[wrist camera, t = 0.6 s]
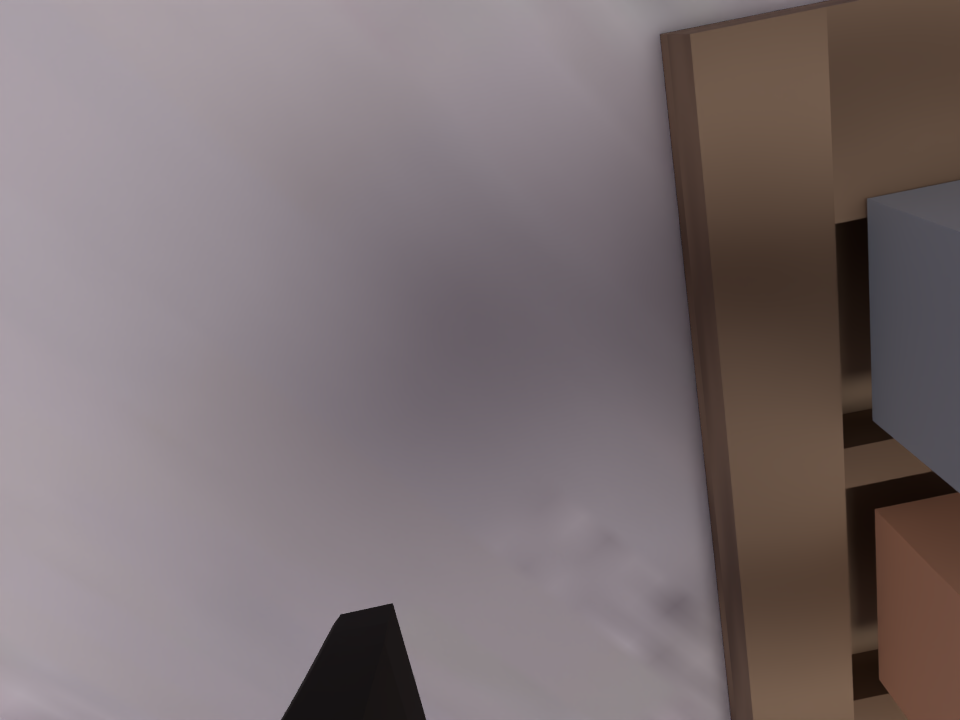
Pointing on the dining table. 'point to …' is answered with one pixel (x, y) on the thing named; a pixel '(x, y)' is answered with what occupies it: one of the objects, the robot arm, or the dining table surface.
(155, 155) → the dining table surface
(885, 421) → the button slate
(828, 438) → the board
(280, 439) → the dining table surface
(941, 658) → the salmon brown square block
